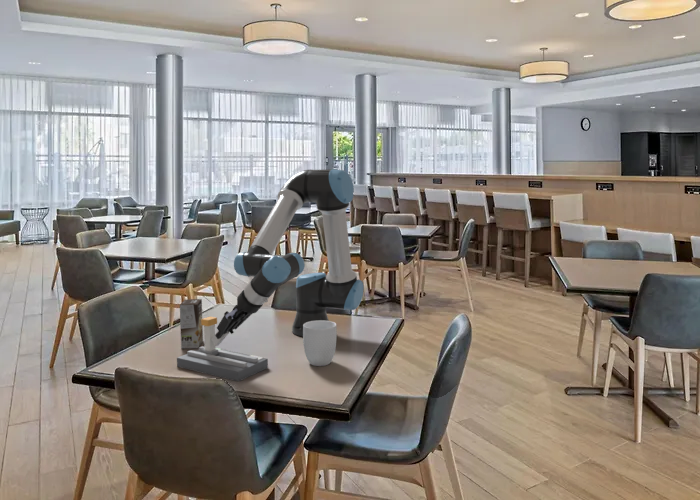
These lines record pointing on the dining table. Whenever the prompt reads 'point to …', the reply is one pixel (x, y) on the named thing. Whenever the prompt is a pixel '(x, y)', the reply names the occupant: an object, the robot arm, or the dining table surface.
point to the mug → (319, 341)
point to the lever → (209, 335)
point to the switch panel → (223, 363)
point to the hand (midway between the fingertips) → (215, 342)
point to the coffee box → (191, 323)
